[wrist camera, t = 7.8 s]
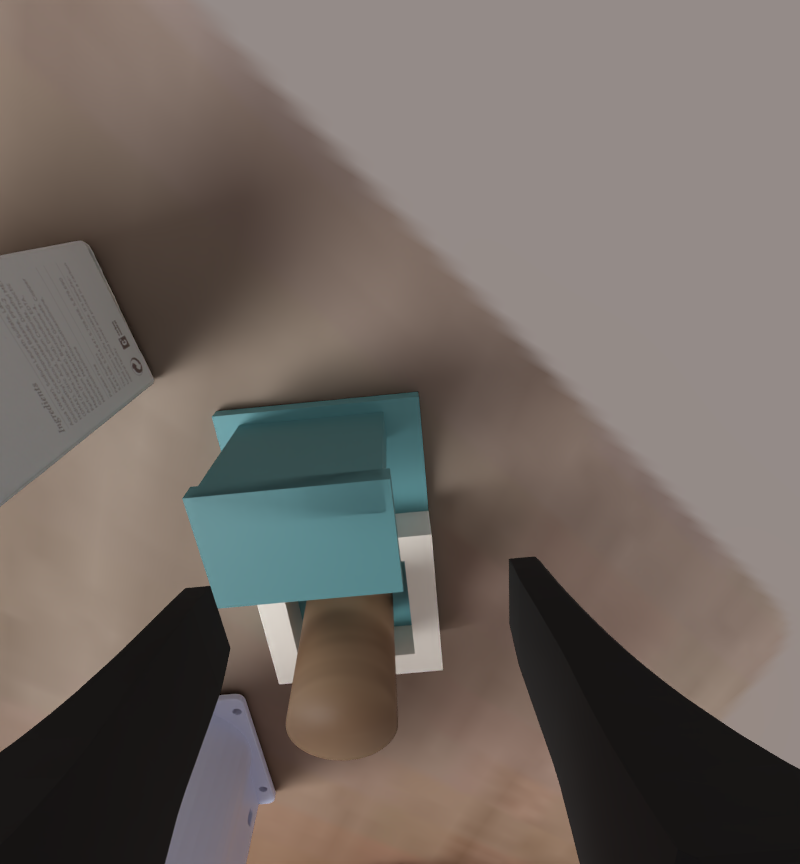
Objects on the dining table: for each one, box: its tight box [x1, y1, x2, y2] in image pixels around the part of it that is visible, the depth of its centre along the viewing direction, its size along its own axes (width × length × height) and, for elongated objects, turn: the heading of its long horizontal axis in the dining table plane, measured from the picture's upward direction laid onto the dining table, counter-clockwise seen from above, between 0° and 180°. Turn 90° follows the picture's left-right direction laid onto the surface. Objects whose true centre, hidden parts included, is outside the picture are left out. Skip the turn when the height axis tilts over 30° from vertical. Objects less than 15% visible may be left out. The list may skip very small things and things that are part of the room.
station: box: [182, 392, 443, 684], centre depth 21 cm, size 14×8×6 cm, turn 5°
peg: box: [286, 593, 398, 761], centre depth 21 cm, size 4×4×7 cm
